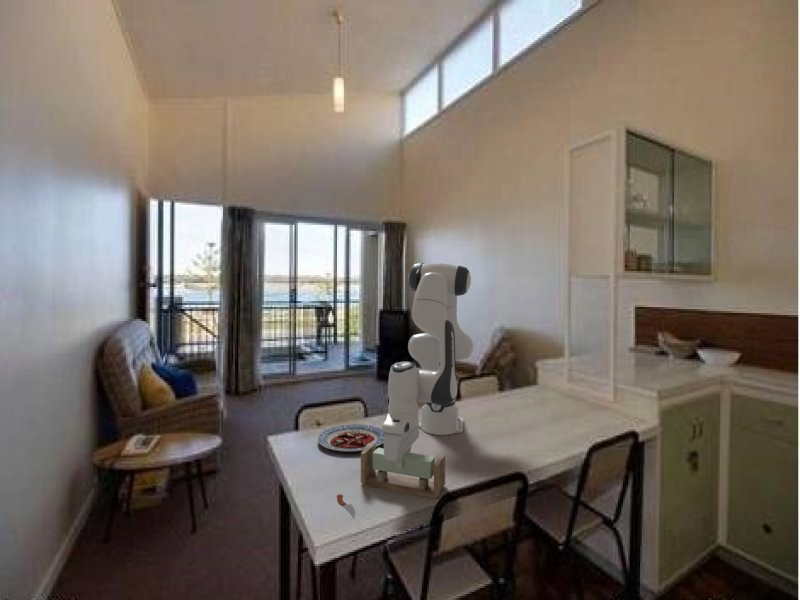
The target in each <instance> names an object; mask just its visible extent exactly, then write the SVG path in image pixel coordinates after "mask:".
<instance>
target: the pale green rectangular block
mask: <svg viewBox="0 0 800 600" xmlns="http://www.w3.org/2000/svg"><path fill="white" fill-rule="evenodd" d="M435 458H436V457H435V456H433V455H428V454H426V455H425V454H419V453H415V452H413V453H412V452H410V453H408V452H405V454H404V455H403V458H402V461H403V468H402V469H397V468H396V462H390V461H386V459H385V456H384V447H383V448H382V447H376V448H375V451H374V452H373V469H375V471H379V470H381V471H386V472H387V473H393V474H398V475H404V476H409V477H413V478H425V479H429V480H432V478H434V464H435V462H436V459H435Z"/></svg>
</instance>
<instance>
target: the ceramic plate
mask: <svg viewBox="0 0 800 600" xmlns="http://www.w3.org/2000/svg"><path fill="white" fill-rule="evenodd" d="M317 443H319V444H320V446H322V447H323V448H325V449H329V450H332V451H338V452H360V451H361V452H362V451H364V450H365V449H366V448H367V447H368V446H369V445H370V444H371V443H374V444H375V448H378V447H379V446H381V445H384V432H383V431H382V428H380V427H377V426H374V425H371V424H370V425H368V424H360V423H359V424H356V423H354V424H351V423H350V424H344V425H337V426H334V427H330V428H328V429H326V430H324V431H322V432H320V434H318V437H317Z"/></svg>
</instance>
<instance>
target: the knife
mask: <svg viewBox="0 0 800 600" xmlns="http://www.w3.org/2000/svg"><path fill="white" fill-rule="evenodd" d="M343 497H344V495H343V494H341V493H339V494H337V495H336V501H337V503H338V504H339V505H340V506H341V507H343V509H345V510H346V511H347V512H348V513H349V514H350V515H351V516H352V518H353V520H355V519H356V518H357V516H358V511H356V510H357V508H356V506H355V505H354V504H353V503H350V504H347V503H346V502H345V501H344V500H343ZM355 517H356V518H355Z"/></svg>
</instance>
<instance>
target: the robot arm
mask: <svg viewBox="0 0 800 600" xmlns="http://www.w3.org/2000/svg"><path fill="white" fill-rule="evenodd" d="M470 273H471V272H470V270H469V269H468V267H465V266H463V265H454V264H450V263H449V264H447V263H432V262H431V263H424V262H418V263H414V264H413V265H412V266H411V268H410V270H409V273H408V276H407V277H408V285H409V287H410V288H411V290H412V291H414V292H415V295H414V297H413V302H412V303H413V304H412V308H411V319H412V321H413V323H414V325H415V326H416V327H417V328H419V329H420V330H421V331H423V333H417V334H413V335H412V336H411V337H410V339H409V340H408V344H407V345H408V346H407V349H408V353H409V355H410V356H411V358H412V359H414V361H416V362H417V363H418V364H419V365H420V366H421V368H418V367H417V366H416V363H414V362H412V361H408V360H407V361H404V360H403V361H400V362H399V361H397V362H395V363H393V364H392V365H391V366H390V368H389V369H390V370H389V373H388V380H387V381H388V384H387V385H388V386H387V395H388V399H389V403H388V406H387V414H386V417H385V419H386V420H385V419H384V421H383V424H382V428H381V429H382V431H383V432H385V434H384V443H383V449H384V456H385V459H386V461H390V462H396V468H397V469H402V468H403V461H402V458H403V455H404V454H405V452H408V453H411V451H412V445H414V443H415V442H416V441H417V440H418V439H419V435H420V429H422V431H424V432H425V433H427V434H431V435H434V436H435V435H437V436H445V435H452V434H458V433H460V434H461V433H464V421H465V420H464V417H461V416H459V407H458V405H457V404H456V398H457V395H458V381H457V380H458V379H457V371H456V361H463V360H467V359H469V358H470V357H471V356H472V354H473V351H474V343H473V340H472V338H471V337H470V336H469V335H468V334H467V333H466V332H464V331H463V330H462V329H461V328H460V325H459V323H458V317H457V312H458V311H457V308H458V307H457V306H458V297H459V296H463V295H465V294H467V293H468V291H469V289H470V287H471V284H472V276H471V274H470ZM418 402H425V404H424V405H423V406H422V407H421V414H420V415H421V416H420V417H421V418H420V419H421V420H420V422H419V404H418ZM419 428H420V429H419Z"/></svg>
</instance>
